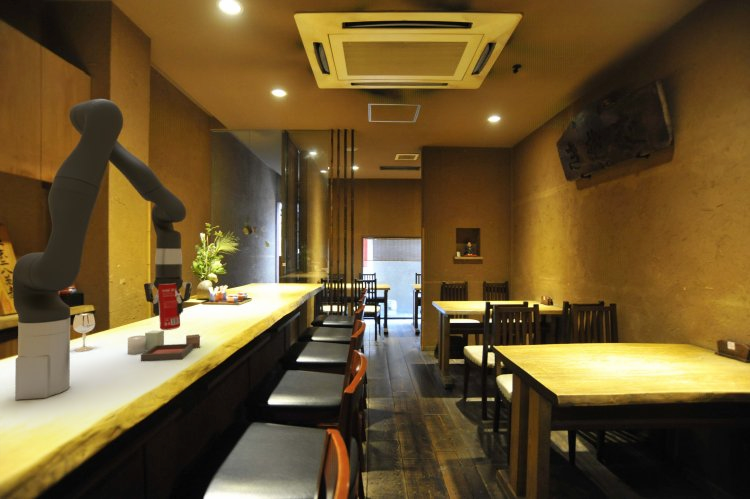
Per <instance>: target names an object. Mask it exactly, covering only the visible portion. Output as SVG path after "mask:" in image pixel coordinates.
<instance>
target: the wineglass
mask: <svg viewBox="0 0 750 499" xmlns="http://www.w3.org/2000/svg"><path fill="white" fill-rule="evenodd" d="M72 324H73V325H72V328H73V330H74V331H75V332H77V333H80V334H82V336H81V337H82V340H83V341H82V346H81V347H79V348H76V349H75V352H87V351H92V349H93V348H92V347H90V346H89V347H88V346H86V337H87V334H86V333H89V332H91V331H93V330H94V328H95V326H96V321H95V316H94V313H93V312H85V313H77V314H75V316H74V318H73V322H72Z"/></svg>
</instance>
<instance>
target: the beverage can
mask: <svg viewBox="0 0 750 499" xmlns="http://www.w3.org/2000/svg"><path fill="white" fill-rule="evenodd" d="M175 290H176V291H177V293H179V291H178V290H177V287H176V284H175V283H173V284H159V287H158V290H157V291H158V295H159V297H158V300H159V315H158V316H159V329H160V331H172V330H177V329H178V328H180V327H181V314H180V315H177V304H178V302H177V297H175Z"/></svg>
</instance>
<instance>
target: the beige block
mask: <svg viewBox="0 0 750 499" xmlns="http://www.w3.org/2000/svg"><path fill="white" fill-rule="evenodd" d="M144 352H146V336H145V335H133V336H129V337H127V355H129V356H133V355H135V356H136V355H141V354H143V353H144Z"/></svg>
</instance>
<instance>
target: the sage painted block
mask: <svg viewBox="0 0 750 499" xmlns="http://www.w3.org/2000/svg"><path fill="white" fill-rule="evenodd" d="M144 336H146V351H147V350H149V349H150V348H152V347H153V346H155V345H165V330H157V329H156V330H155V329H154V330H153V329H152V330H150V331H147V332H145V333H144Z"/></svg>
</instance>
